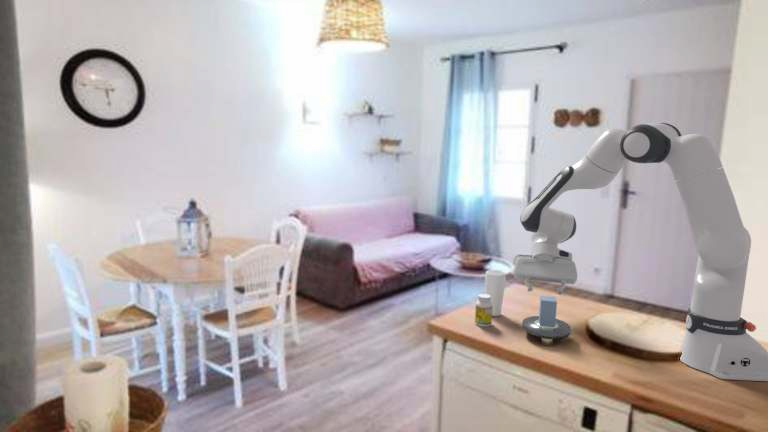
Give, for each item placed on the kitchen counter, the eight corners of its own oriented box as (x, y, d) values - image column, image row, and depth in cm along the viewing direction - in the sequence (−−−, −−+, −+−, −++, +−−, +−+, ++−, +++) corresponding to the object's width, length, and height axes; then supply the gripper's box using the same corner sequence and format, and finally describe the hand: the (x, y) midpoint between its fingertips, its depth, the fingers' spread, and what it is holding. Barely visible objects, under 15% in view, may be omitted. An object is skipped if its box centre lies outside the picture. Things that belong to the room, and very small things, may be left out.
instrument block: (553, 321, 143) (555, 297, 142) (554, 327, 139) (556, 301, 137) (538, 320, 144) (540, 295, 143) (539, 325, 140) (541, 300, 139)
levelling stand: (566, 330, 147) (567, 316, 146) (572, 349, 134) (574, 334, 133) (520, 325, 150) (521, 312, 150) (522, 343, 137) (523, 328, 136)
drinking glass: (503, 318, 156) (506, 275, 154) (483, 316, 158) (485, 274, 155) (502, 311, 163) (505, 270, 161) (483, 309, 164) (485, 269, 162)
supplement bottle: (494, 325, 150) (496, 297, 149) (481, 328, 148) (482, 299, 146) (485, 319, 155) (486, 292, 153) (471, 322, 153) (473, 294, 151)
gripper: (514, 249, 160) (512, 284, 152) (577, 253, 155) (579, 290, 147) (513, 258, 165) (511, 293, 157) (574, 263, 160) (576, 299, 152)
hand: (545, 292), depth 152 cm, fingers open, 8 cm apart
